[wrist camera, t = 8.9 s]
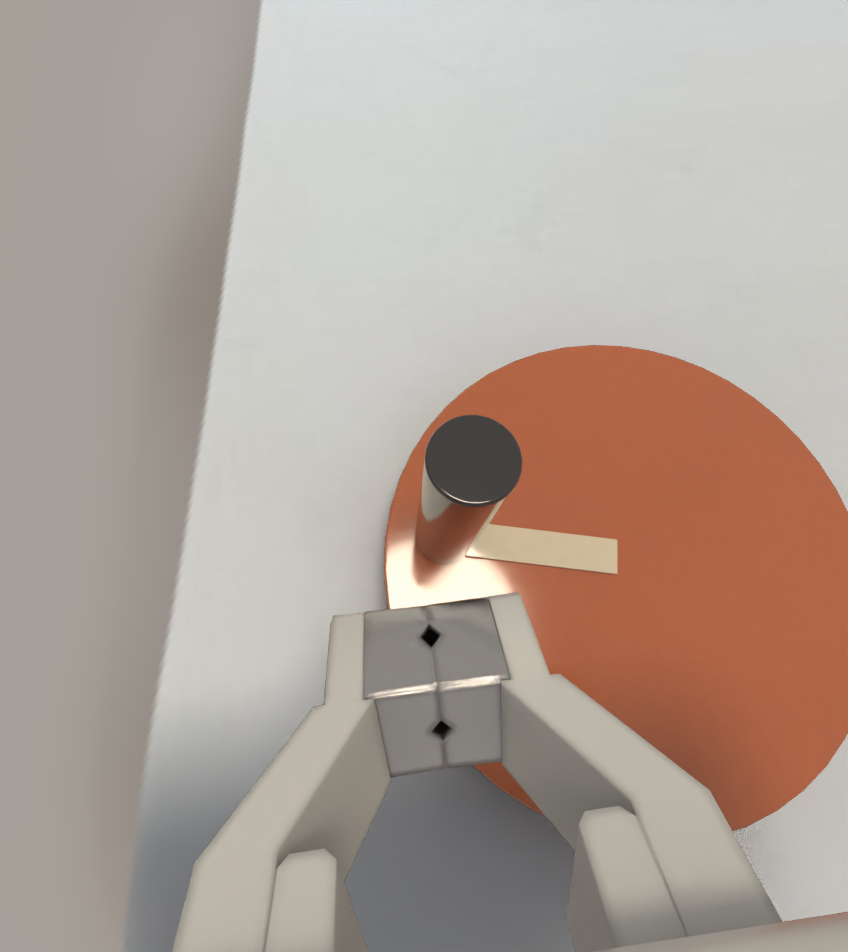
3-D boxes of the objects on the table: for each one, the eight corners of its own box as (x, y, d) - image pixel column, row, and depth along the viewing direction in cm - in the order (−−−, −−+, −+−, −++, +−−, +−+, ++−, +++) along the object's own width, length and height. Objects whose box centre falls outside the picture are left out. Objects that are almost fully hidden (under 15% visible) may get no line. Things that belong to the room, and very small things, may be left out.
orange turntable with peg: (526, 943, 16) (682, 1310, 7) (312, 457, 20) (246, 313, 11) (944, 680, 19) (1424, 709, 10) (678, 304, 23) (846, 95, 14)
